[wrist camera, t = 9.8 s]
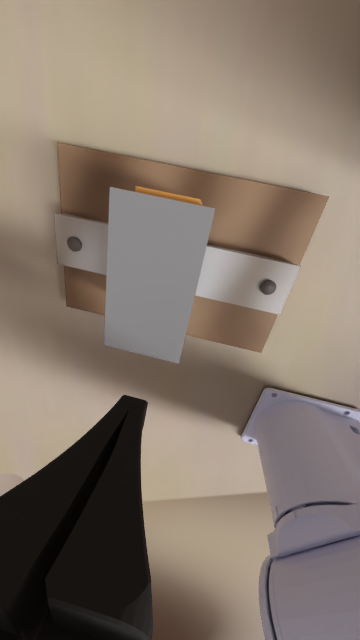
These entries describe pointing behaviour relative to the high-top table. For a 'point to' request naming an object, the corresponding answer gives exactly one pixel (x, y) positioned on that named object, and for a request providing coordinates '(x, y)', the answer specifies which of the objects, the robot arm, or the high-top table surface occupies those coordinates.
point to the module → (153, 269)
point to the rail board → (222, 249)
